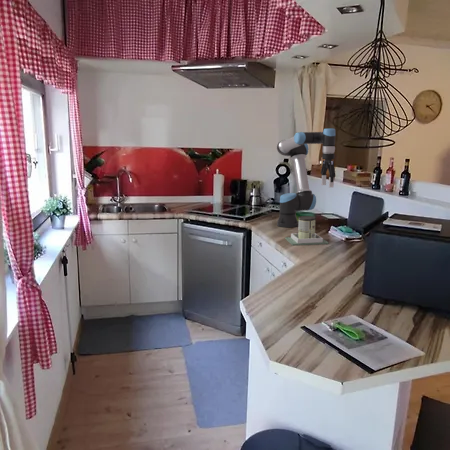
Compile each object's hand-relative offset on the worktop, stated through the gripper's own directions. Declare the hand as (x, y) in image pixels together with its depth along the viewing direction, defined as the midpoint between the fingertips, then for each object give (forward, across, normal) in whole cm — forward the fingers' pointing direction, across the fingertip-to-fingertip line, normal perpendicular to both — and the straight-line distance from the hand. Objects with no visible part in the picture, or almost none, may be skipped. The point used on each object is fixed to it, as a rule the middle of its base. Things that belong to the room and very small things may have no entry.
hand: (327, 186), depth 264 cm
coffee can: (+31, -18, +19) cm, 41 cm away
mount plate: (+32, -18, +19) cm, 41 cm away
